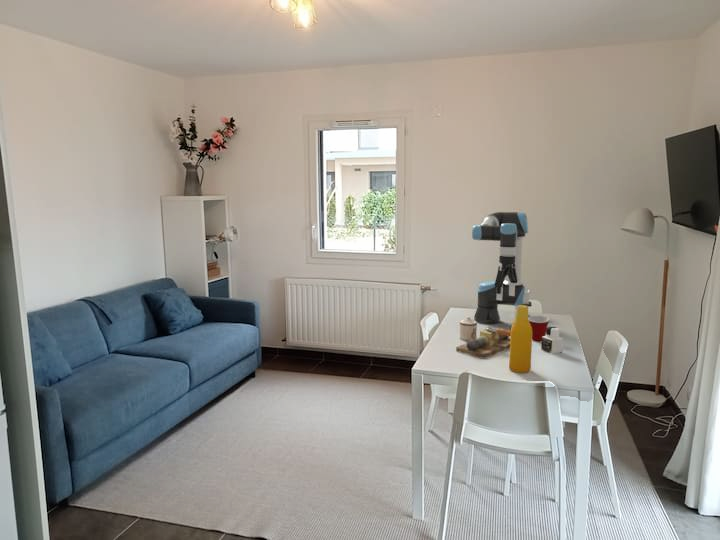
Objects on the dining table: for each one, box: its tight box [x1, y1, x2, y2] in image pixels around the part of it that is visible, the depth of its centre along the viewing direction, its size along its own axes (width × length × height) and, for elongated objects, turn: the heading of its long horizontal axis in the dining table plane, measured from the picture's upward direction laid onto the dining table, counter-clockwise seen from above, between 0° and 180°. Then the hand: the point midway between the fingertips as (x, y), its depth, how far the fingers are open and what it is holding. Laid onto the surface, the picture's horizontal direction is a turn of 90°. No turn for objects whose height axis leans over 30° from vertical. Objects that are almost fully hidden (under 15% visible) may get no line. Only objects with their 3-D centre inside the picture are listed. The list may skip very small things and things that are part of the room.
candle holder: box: [514, 289, 532, 318], centre depth 338 cm, size 25×24×16 cm
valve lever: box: [485, 326, 511, 338], centre depth 271 cm, size 14×3×2 cm, turn 44°
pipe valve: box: [455, 328, 510, 359], centre depth 276 cm, size 32×16×9 cm, turn 134°
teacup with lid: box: [459, 316, 478, 342], centre depth 292 cm, size 12×9×12 cm
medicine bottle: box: [540, 326, 564, 355], centre depth 269 cm, size 7×7×12 cm
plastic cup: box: [528, 315, 550, 343], centre depth 287 cm, size 11×11×12 cm
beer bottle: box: [508, 305, 533, 374], centre depth 242 cm, size 9×9×29 cm
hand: (505, 298), depth 272 cm, fingers open, 13 cm apart
